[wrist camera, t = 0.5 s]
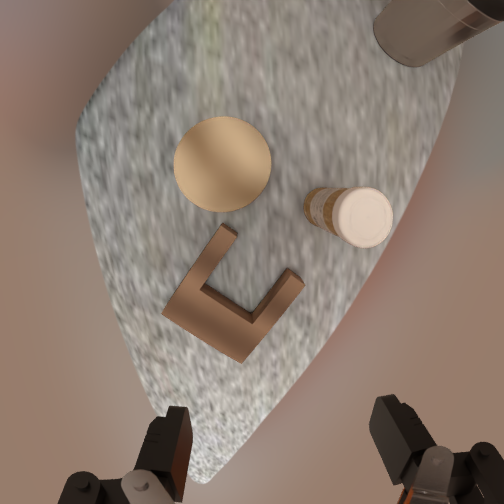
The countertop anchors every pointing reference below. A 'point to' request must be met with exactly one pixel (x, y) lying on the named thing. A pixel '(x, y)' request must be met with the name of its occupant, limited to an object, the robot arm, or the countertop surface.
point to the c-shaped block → (227, 304)
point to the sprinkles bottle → (351, 214)
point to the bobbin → (222, 164)
